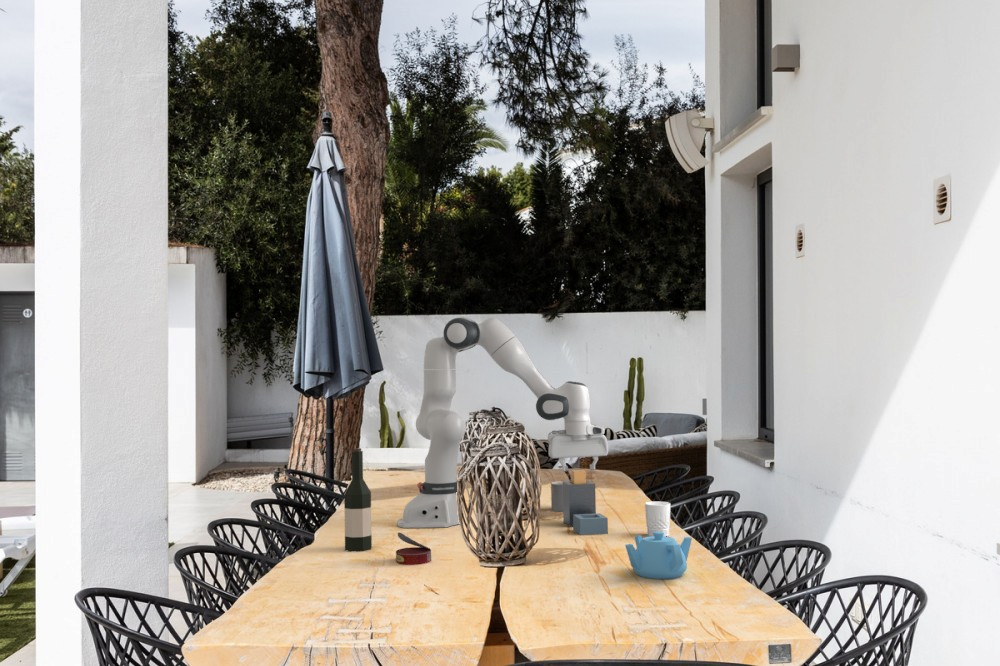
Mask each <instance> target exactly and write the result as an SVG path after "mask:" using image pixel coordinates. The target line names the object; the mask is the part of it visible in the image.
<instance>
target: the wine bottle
mask: <svg viewBox="0 0 1000 666" xmlns="http://www.w3.org/2000/svg"><path fill="white" fill-rule="evenodd" d="M363 453H364V451H363V450H362V448H361V447H357V448H356V447H355V448H352V451H351V481H350V482H349V485H348V487H347V488H346V490H345V493H344V495H343V496H344V498H343V499H344V551H346V550H348V551H347V552H351V551H356V552H366V551H370V550H372V548H373V547H372V545H373V544H372V543H373V542H372V541H373V540H372V537H373V536H372V491H371V489H370V488H369V486H368V485H367V483H366V482H365V480H364V466H363V465H364V464H363V463H364V461H363V459H364V458H363V455H364V454H363Z"/></svg>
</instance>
